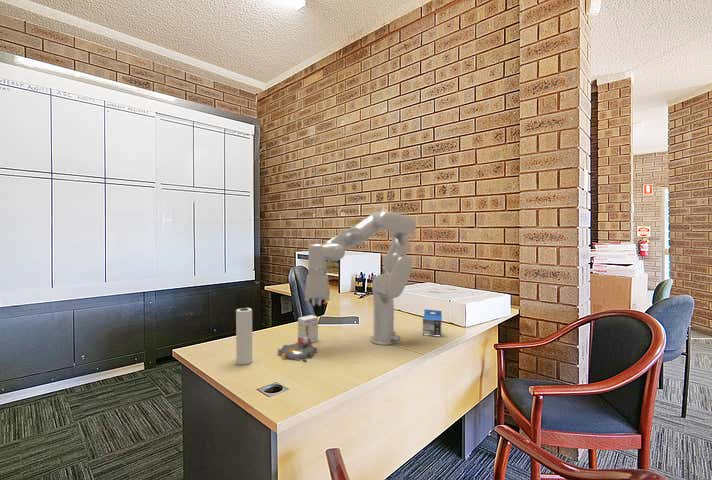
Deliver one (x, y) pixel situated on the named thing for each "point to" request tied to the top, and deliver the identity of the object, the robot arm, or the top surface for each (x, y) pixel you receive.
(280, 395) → the top surface
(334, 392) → the top surface
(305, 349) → the sprocket
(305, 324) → the ink box
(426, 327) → the label tape cartridge
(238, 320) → the paper towel roll
